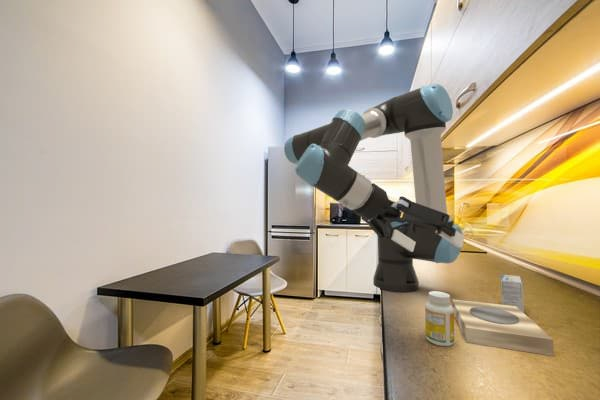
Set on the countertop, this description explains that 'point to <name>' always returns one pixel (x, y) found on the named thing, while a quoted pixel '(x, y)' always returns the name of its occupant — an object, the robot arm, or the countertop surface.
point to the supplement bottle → (439, 319)
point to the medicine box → (512, 291)
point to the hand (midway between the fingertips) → (435, 244)
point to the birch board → (500, 327)
